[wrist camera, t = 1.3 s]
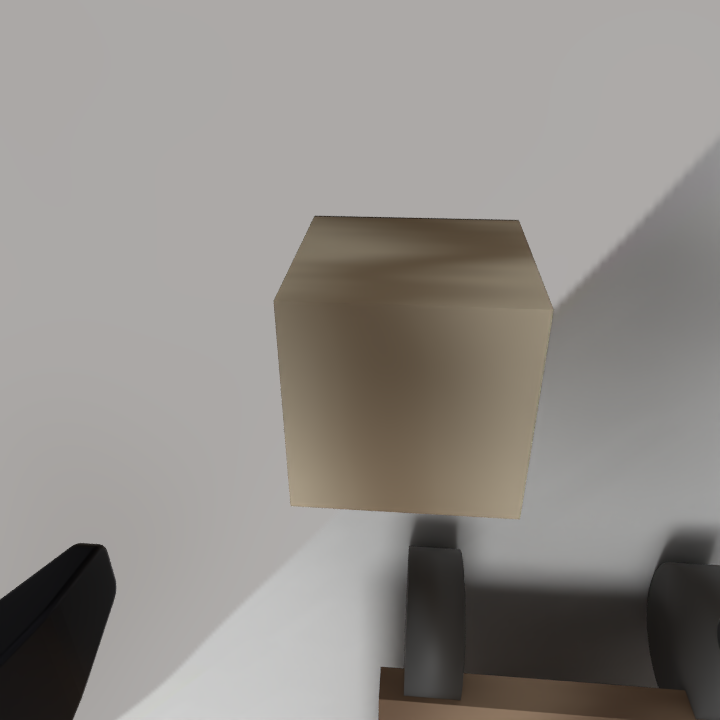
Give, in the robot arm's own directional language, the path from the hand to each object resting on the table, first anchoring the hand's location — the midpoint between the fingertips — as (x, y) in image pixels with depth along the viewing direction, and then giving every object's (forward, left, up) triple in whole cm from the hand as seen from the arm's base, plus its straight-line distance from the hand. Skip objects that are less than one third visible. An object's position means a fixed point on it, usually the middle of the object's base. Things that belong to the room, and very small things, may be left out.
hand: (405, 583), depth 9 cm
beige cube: (0, 0, -9) cm, 9 cm away
